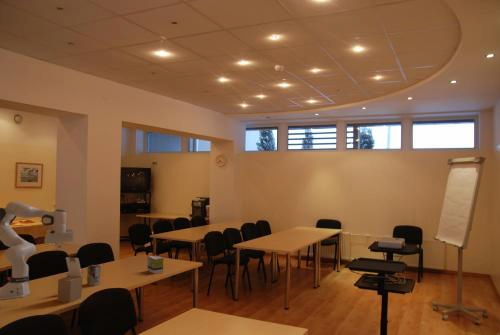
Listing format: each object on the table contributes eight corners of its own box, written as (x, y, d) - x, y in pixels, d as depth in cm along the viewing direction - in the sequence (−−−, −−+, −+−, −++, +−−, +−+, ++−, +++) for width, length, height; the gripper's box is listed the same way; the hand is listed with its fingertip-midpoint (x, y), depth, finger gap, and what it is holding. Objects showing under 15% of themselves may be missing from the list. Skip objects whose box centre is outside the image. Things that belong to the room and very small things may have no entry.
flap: (77, 258, 292) (78, 258, 293) (65, 257, 295) (66, 257, 296) (81, 276, 296) (82, 276, 297) (69, 275, 299) (70, 275, 300)
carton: (69, 302, 284) (70, 280, 285) (57, 301, 287) (58, 279, 288) (81, 297, 296) (81, 276, 296) (69, 296, 299) (69, 275, 299)
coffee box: (100, 284, 335) (100, 265, 335) (95, 286, 329) (95, 267, 329) (92, 282, 338) (92, 264, 338) (86, 284, 332) (87, 266, 333)
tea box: (146, 271, 384) (147, 256, 385) (156, 269, 391) (156, 255, 391) (154, 274, 373) (154, 258, 373) (163, 272, 380) (163, 257, 380)
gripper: (72, 229, 310) (71, 246, 309) (44, 230, 296) (43, 248, 296) (74, 229, 305) (74, 247, 305) (46, 231, 292) (45, 250, 291)
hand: (59, 248), depth 300 cm, fingers closed
